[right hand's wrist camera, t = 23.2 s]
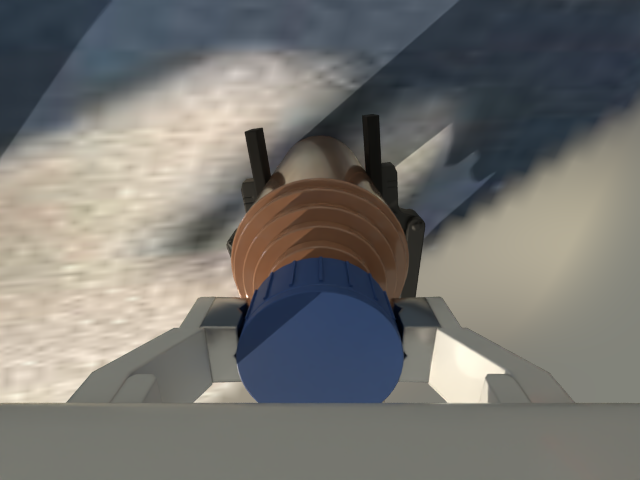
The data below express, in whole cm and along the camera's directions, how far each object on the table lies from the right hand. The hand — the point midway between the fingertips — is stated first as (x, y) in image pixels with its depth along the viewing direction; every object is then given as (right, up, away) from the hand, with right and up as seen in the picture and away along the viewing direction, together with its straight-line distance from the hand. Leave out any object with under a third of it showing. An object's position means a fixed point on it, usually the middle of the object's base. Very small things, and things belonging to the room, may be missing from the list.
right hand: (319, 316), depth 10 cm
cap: (0, -1, -2) cm, 2 cm away
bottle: (0, +8, +20) cm, 22 cm away
